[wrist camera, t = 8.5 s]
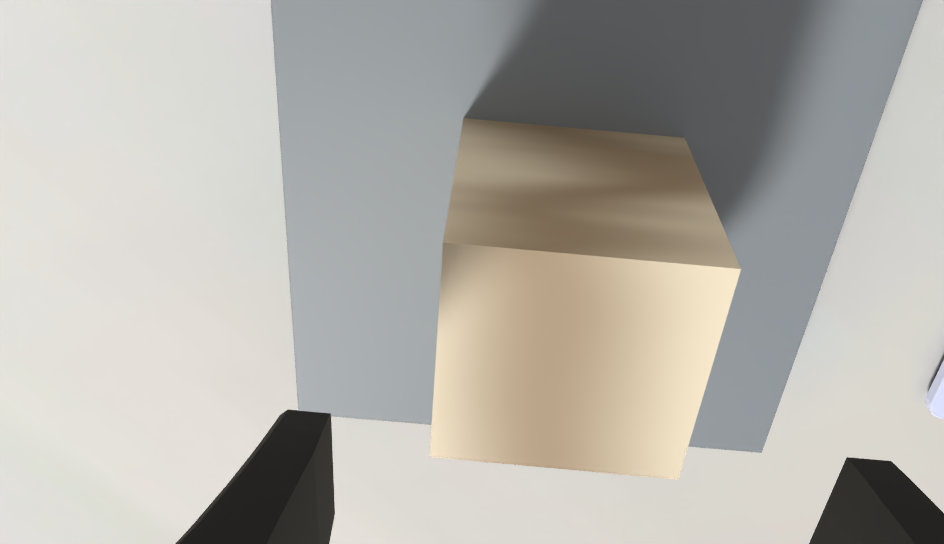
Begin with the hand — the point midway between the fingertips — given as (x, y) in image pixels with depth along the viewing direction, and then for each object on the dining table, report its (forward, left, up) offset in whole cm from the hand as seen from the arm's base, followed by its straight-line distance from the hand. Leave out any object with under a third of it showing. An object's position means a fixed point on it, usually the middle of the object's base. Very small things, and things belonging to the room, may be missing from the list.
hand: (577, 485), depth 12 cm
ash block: (0, 0, -7) cm, 7 cm away
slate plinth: (0, 0, -10) cm, 10 cm away
